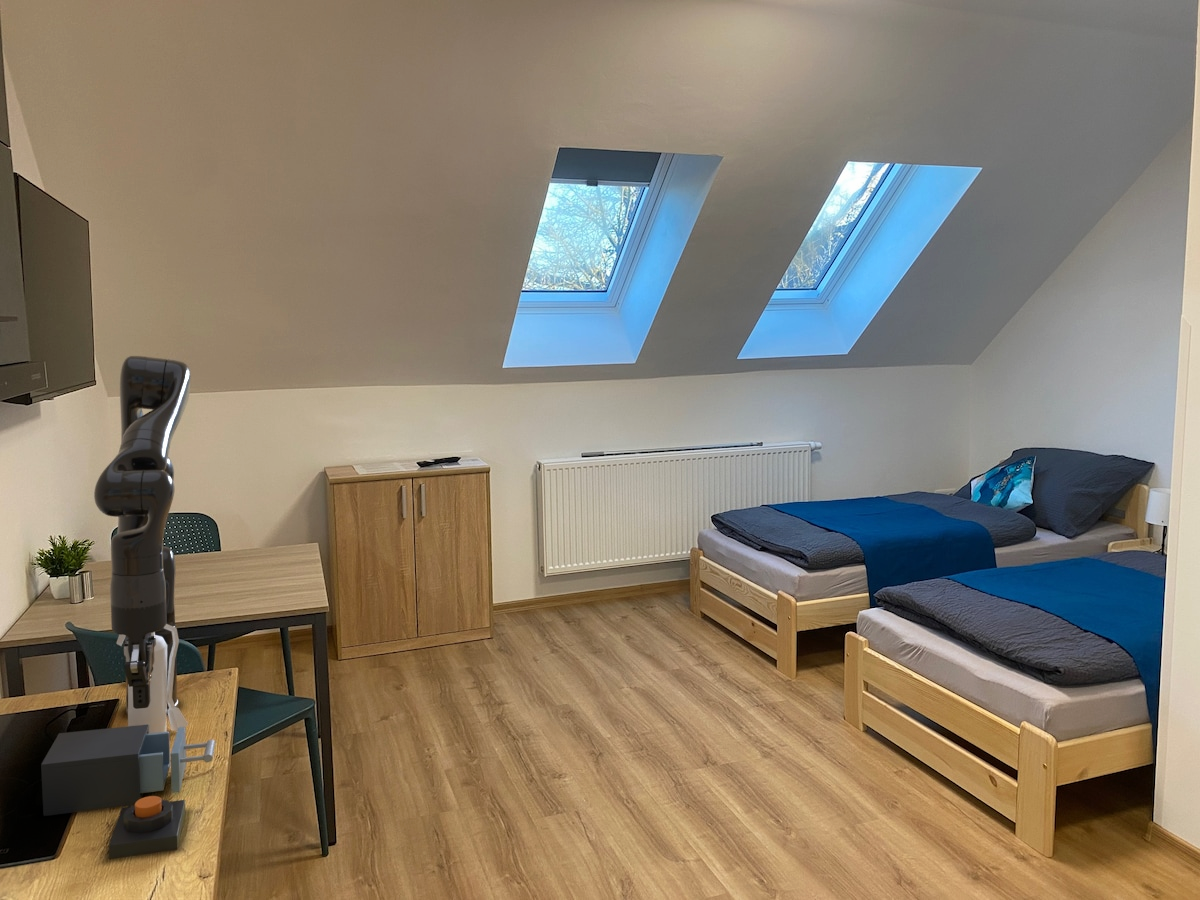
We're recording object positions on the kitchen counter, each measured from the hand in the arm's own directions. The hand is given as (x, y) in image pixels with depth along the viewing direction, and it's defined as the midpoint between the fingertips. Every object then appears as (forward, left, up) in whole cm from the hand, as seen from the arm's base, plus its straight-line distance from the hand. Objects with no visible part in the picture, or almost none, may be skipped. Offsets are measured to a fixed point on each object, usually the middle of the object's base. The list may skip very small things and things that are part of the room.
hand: (141, 706), depth 139 cm
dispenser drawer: (-10, +1, -17) cm, 20 cm away
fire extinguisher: (-30, -3, -18) cm, 35 cm away
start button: (+6, +1, -15) cm, 16 cm away
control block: (+6, +1, -18) cm, 19 cm away
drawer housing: (-10, -8, -18) cm, 22 cm away
